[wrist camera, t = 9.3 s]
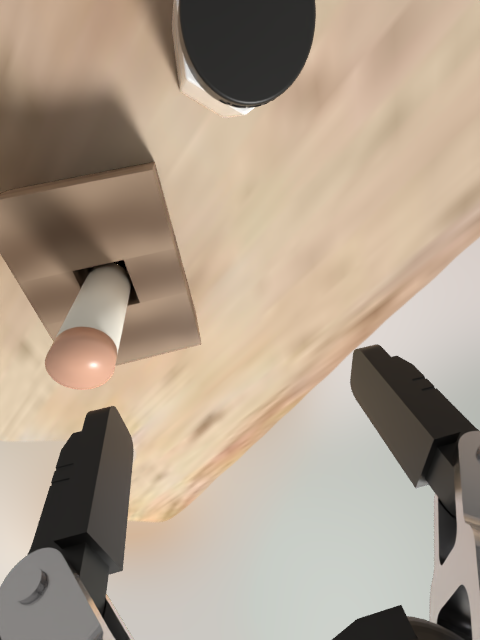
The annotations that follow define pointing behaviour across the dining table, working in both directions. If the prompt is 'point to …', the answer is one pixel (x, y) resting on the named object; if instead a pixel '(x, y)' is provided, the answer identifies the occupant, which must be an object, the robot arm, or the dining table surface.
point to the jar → (240, 50)
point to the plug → (91, 330)
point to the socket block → (101, 253)
